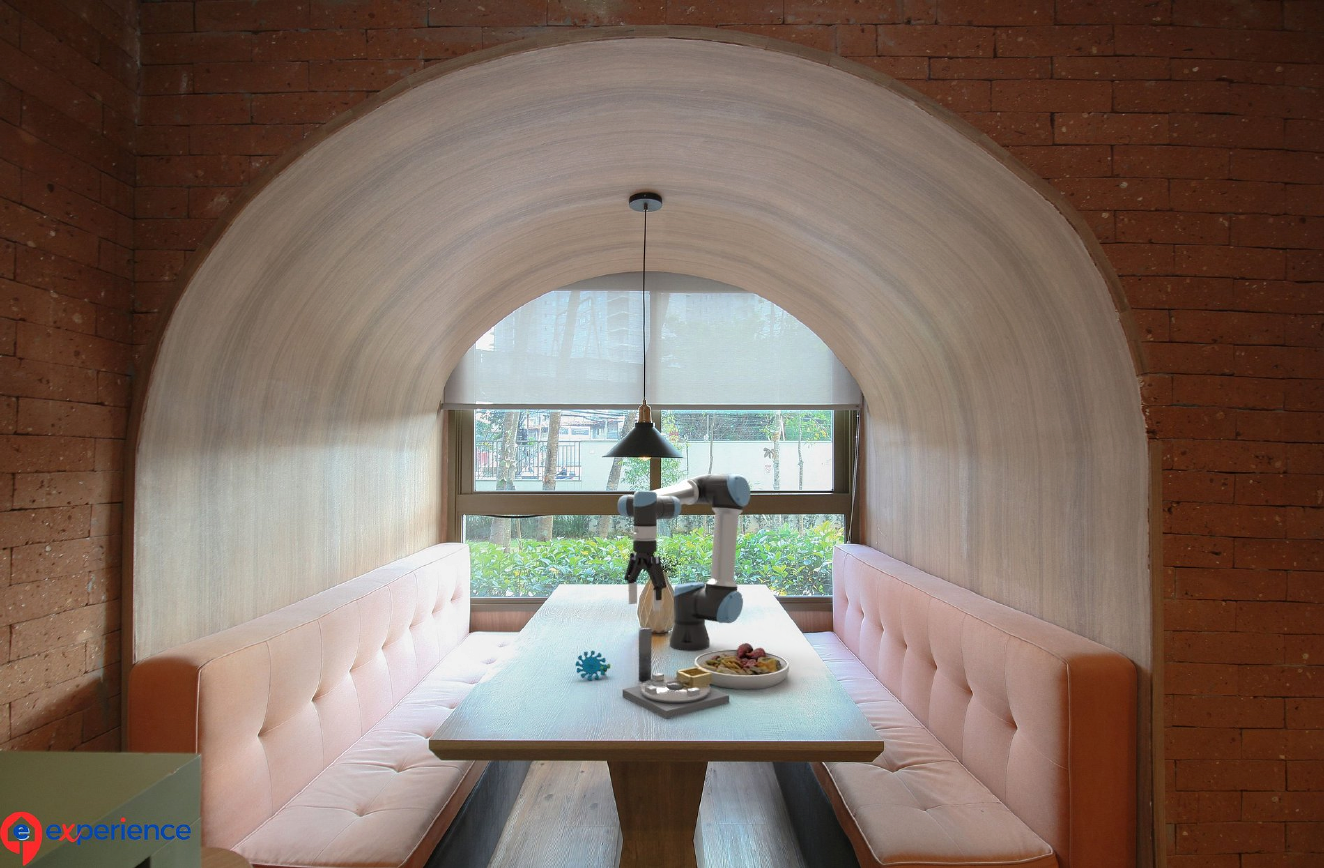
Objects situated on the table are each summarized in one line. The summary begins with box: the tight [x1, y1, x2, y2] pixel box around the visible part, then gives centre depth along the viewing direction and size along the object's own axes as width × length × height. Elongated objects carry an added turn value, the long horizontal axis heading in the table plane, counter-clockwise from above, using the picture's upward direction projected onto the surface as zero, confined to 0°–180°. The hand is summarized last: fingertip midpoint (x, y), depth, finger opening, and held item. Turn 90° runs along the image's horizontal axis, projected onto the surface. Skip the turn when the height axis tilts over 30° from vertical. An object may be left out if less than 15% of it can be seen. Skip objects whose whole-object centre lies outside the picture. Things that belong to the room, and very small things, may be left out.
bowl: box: [693, 642, 790, 690], centre depth 217 cm, size 30×30×8 cm
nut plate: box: [621, 684, 730, 720], centre depth 196 cm, size 22×22×2 cm
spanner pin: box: [638, 626, 652, 683], centre depth 214 cm, size 4×4×16 cm
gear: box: [575, 650, 611, 682], centre depth 218 cm, size 11×6×10 cm
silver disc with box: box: [640, 666, 713, 703], centre depth 196 cm, size 21×20×4 cm
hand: (644, 607), depth 215 cm, fingers open, 13 cm apart
